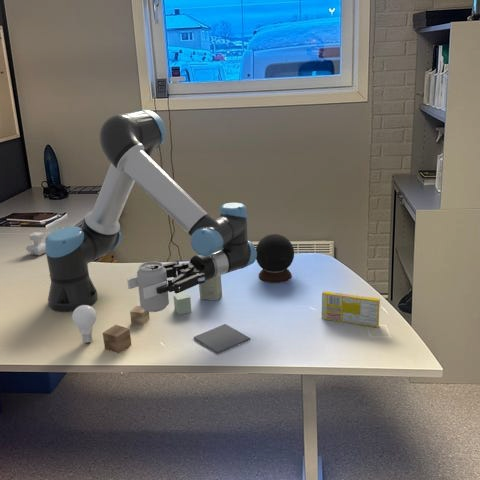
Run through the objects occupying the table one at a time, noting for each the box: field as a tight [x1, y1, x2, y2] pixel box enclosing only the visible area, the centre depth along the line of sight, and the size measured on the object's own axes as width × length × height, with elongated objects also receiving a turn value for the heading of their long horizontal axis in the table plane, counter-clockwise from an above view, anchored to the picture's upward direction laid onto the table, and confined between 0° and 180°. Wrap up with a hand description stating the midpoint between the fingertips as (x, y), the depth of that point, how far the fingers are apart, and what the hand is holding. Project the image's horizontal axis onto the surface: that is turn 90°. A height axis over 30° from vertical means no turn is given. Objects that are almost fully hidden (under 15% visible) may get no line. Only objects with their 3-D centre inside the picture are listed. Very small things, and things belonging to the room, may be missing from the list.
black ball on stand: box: [255, 233, 295, 284], centre depth 190 cm, size 13×13×15 cm
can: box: [136, 260, 170, 313], centre depth 147 cm, size 8×8×12 cm
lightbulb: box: [71, 305, 97, 344], centre depth 152 cm, size 6×6×11 cm
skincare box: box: [198, 275, 223, 301], centre depth 177 cm, size 6×4×12 cm
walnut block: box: [102, 324, 132, 354], centre depth 151 cm, size 5×5×5 cm
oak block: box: [129, 305, 150, 326], centre depth 164 cm, size 4×4×4 cm
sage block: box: [173, 291, 192, 316], centre depth 170 cm, size 4×4×5 cm
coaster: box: [193, 323, 251, 355], centre depth 153 cm, size 11×11×1 cm
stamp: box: [25, 231, 46, 256], centre depth 222 cm, size 9×7×8 cm
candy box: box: [321, 290, 381, 329], centre depth 159 cm, size 16×2×8 cm, turn 66°
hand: (136, 288), depth 143 cm, fingers closed on can, 7 cm apart
